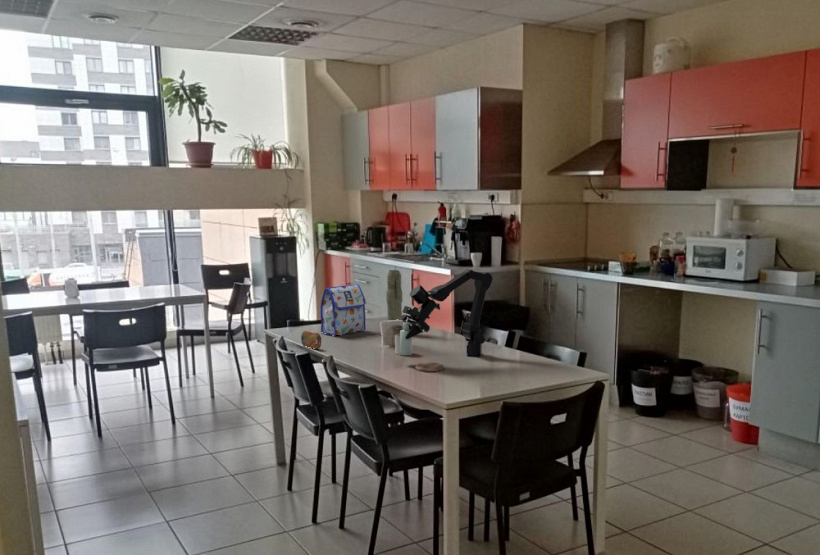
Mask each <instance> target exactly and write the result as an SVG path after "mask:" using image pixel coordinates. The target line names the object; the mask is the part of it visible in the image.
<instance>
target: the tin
mask: <svg viewBox="0 0 820 555" xmlns="http://www.w3.org/2000/svg"><path fill="white" fill-rule="evenodd" d="M300 339H301V344H302V346H303V347H304V346H307V347H311V348H315V349H314V350H318V349H317V348H319V349H320V348H321V347H322V336H321V333H319V332H315V331H312V330H304V331H303V332H302V333H301V338H300Z"/></svg>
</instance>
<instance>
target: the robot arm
mask: <svg viewBox="0 0 820 555" xmlns="http://www.w3.org/2000/svg"><path fill="white" fill-rule="evenodd" d="M470 280H473V281H474V282H473V283H474V284H473V285H474V289H475V292H474V296H473V301H472V305H471V309H470V315H469V318H468V320H467V322H463V325H462V329H461V332H462V336H463V337H464V340H465V342H467V345H466V357H475V356H476V357H478V358H479V357H480V356H481V355H482V354H483V355H484V353H483V344H484V343H485V342H486V339H485V338H484V336H483V335H481V331H482V330H481V323H480V320H481V317H482V316H481V315H482V311H483V306H484V303H485V297H486V293H487V292H488V290H489V289H490V288H491V285H492V283H493V276H492V274H491V273H490V272H485V271H475V270H473V269H470V268H469V269H465V270H463V271H462V272H461V273H459V274H458V275H456V276H455V277H453V278H452V279H450V280H449V281H447V282H445V283H443V284H441V285H437V286H434V287H432V288H431V289H430V290H426V289H425V288H424V287H423V286H422V284H419V285H418V286H416V287H414V288H413V289H411V290H410V292H409V297H411V299H412V300H414V302H415V303H417V305H420V306H419V307H416V306H414V305H413V306H411V307H410V306H408V305H404V307H403V309H402V313H403V314H402V316H401V317H400V318H401V319H402V321H403V322H409V330H410V331H409V332H408V334H407V336H406V337H405V338H406V339H409V338H411V337H412V338H413V337H415V336H417V335H419V334H422V333H424V332H425V333H428V332H429V331H430V329H431V328H430V327H431V325H429V324H428V323H427V322H426V320H429V319H430V318H431V317H430V315H431V314H432V313H433V311H434V310H439V311H440V310H441V306H440V303H438V302H444V301H445V300H446V299H447V298H448V297H449V296H450V294H451V293H452V292H453V291H455V290H456V289H458V288H460V287H461V286H462V285H463V284H465V283H466V282H468V281H470ZM436 301H437V302H436ZM402 330H403V328H402ZM483 355H482V356H483ZM482 356H481V357H482Z"/></svg>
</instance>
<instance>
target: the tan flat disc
mask: <svg viewBox="0 0 820 555" xmlns="http://www.w3.org/2000/svg"><path fill="white" fill-rule="evenodd" d="M416 369H417V370H416ZM442 369H443V370H444V365H443V364H442V363H440V362H421V363H418V364H416V365H415V370H416V371H418V370H420V371H419V372H421V371H437V372H440V371H439V370H441V371H443V370H442Z"/></svg>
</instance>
